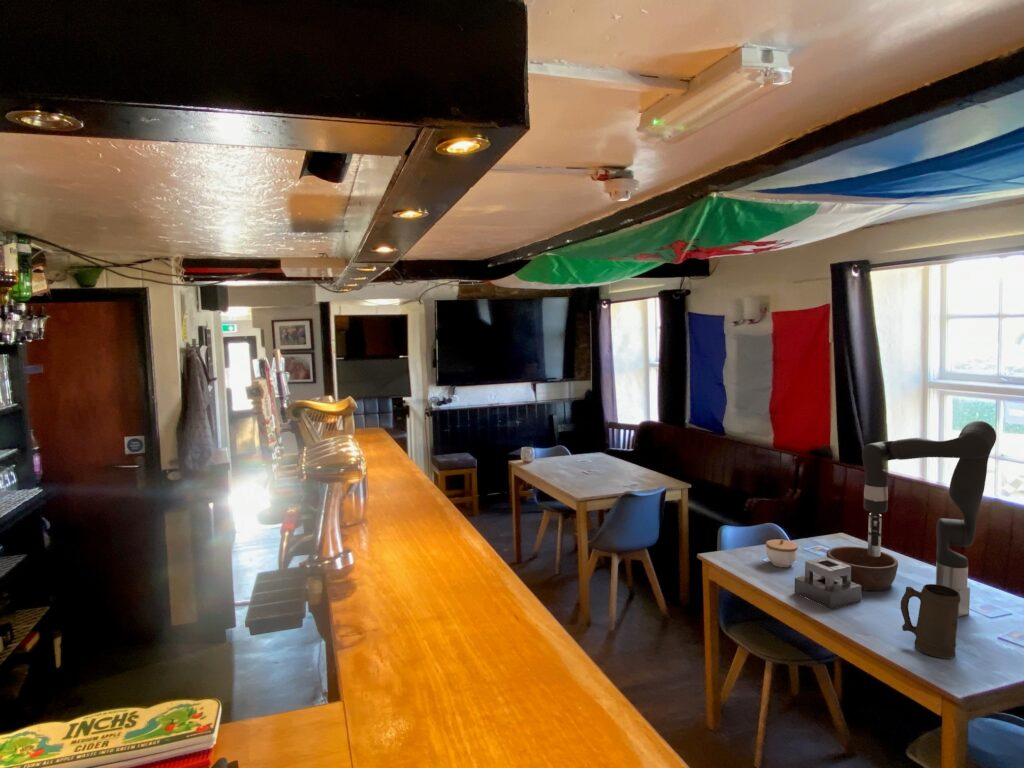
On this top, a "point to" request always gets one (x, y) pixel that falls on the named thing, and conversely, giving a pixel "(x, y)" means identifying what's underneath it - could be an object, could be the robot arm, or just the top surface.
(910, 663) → the top surface
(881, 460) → the robot arm
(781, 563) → the lidded bowl
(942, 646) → the beer stein
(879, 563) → the wooden bowl
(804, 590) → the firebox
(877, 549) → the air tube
